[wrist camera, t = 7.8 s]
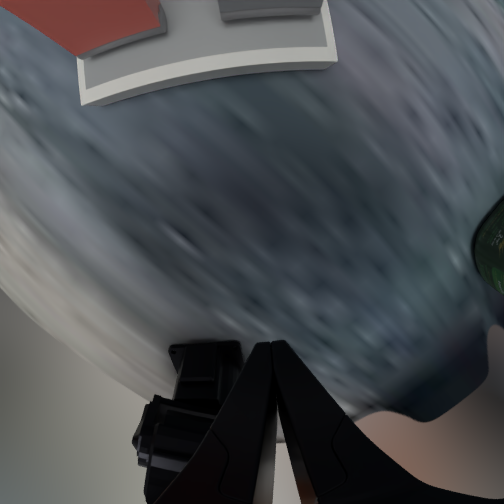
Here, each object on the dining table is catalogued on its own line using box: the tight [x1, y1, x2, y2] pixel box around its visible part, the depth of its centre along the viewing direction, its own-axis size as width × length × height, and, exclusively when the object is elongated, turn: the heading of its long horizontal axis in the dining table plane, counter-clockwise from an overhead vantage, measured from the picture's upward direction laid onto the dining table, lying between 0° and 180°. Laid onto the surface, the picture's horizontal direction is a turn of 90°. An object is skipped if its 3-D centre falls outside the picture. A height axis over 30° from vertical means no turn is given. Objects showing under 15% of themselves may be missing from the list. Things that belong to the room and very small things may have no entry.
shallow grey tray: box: [77, 0, 338, 106], centre depth 13 cm, size 7×15×3 cm, turn 97°
